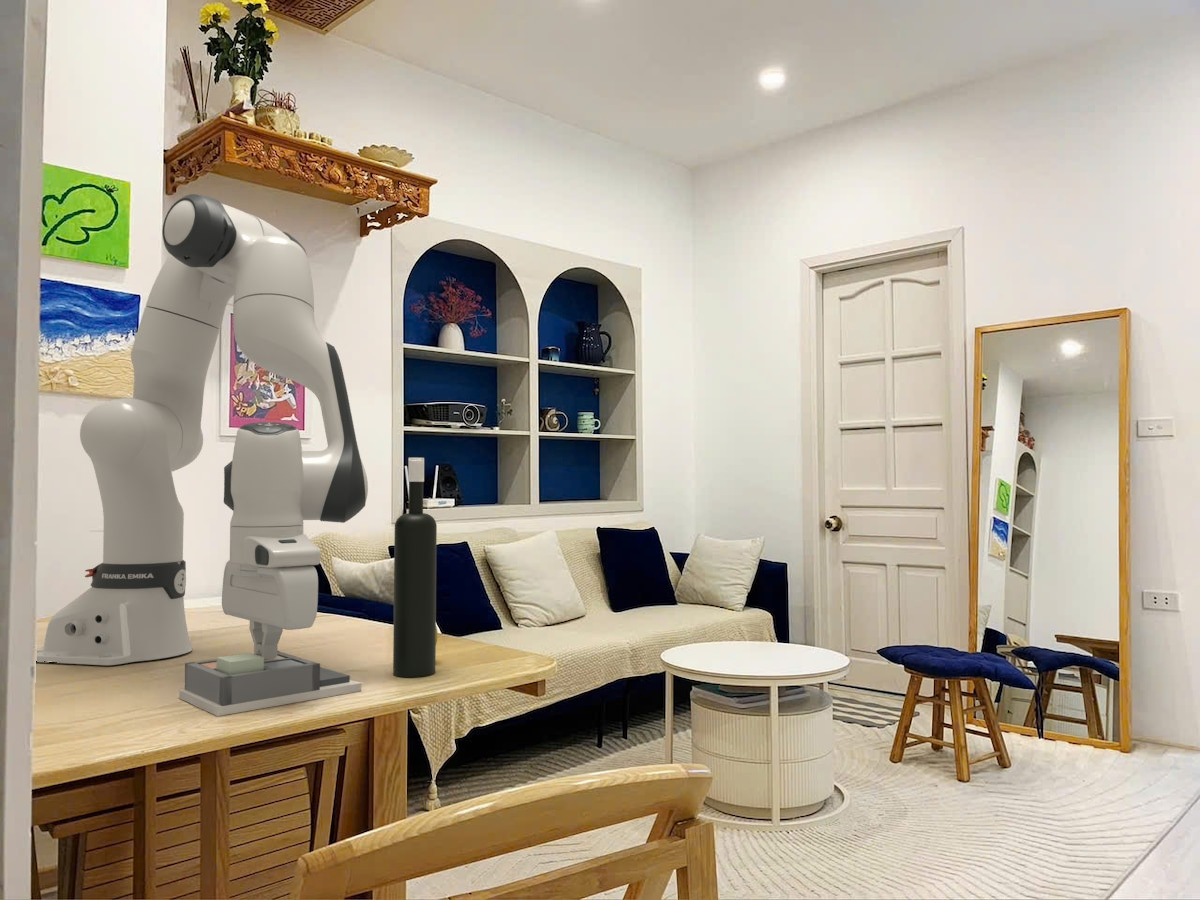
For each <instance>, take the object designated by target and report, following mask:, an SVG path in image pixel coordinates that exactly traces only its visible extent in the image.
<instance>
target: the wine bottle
mask: <svg viewBox="0 0 1200 900" xmlns="http://www.w3.org/2000/svg"><path fill="white" fill-rule="evenodd" d="M407 465H408V467H407V468H408V473H407V474H408V475H407V477H408V479H407V480H408V481H407V482H408V513H404V514H402V515H400V516H399V517H397V519H396V521H395V523H394V547H393V548H394V549H393V550H394V554H393V555H394V558H393V560H394V561H393V643H392V645H393V647H392V648H393V649H392V651H393V654H392V656H393V657H392V658H393V660H392V662H393V663H392V665H393V666H392V675H394V676H396V677H398V678H423V677H429V676H432V675H434V674H436V657H437V656H436V648H437V643H436V627H437V540H438V539H437V537H438V535H437V522H436V520H435V518H434V517H433V516H432V515H430V514H428V513H425V512H424V482H425V457H408V464H407Z"/></svg>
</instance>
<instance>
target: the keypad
mask: <svg viewBox="0 0 1200 900" xmlns="http://www.w3.org/2000/svg"><path fill="white" fill-rule="evenodd" d="M277 656H280V657H284V659H276V660H269V661H264V663H271V662H278V661H285V660H293V661H296V662H299V663H302V665H295V666H288V667H281V668H275V669H271V668H268V667H265V666H264V670H261V671H254V672H247V673H240V674H233V675H227V674H224V673H221V672H219V671H216V668H212V669H211V668H208V667H206V666H203V665H200V664H205V663H212V662H217V658H213V659H206V660H198V661H197V660H196V661H190V662H185V663H184V688H183V689H179V690H178V692H179V693H178V699H180V700H182V701H184V702H187V703H188V704H191V705H192V706H195V707H197V708H199V709H201V710H203V711H205V712H208V713H210V714H212V715H214V716H216V717H220V716H225V715H226V716H228V715H231V714H232V715H234V714H238V713H244V712H249V711H254V710H260V709H266V708H267V709H268V708H272V707H279V706H283V705H287V704H288V705H289V704H294V703H295V704H296V703H300V702H306V701H313V700H317V699H323V698H328V697H335V696H341V695H346V694H352V693H353V694H354V693H359V692H362V682H359V681H356V680H353V679H350V675H349V674H345V673H342V672H338V671H336V670H333V669H329V668H325V667H322V666H321V663H319V662H316V661H313V660H309V659H307V658H306V659H305V658H302V657H299V656H296V655H293V654H289V653H286V652H283V651H280V650H277Z"/></svg>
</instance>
